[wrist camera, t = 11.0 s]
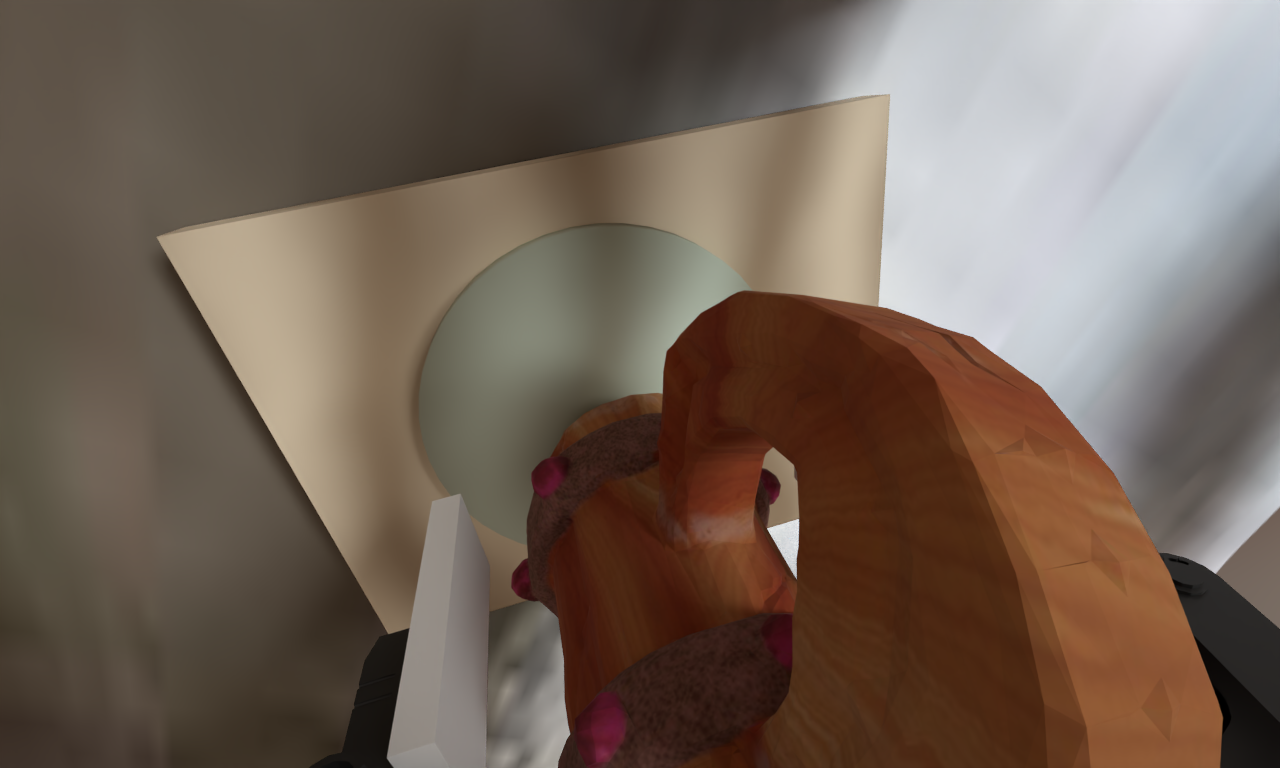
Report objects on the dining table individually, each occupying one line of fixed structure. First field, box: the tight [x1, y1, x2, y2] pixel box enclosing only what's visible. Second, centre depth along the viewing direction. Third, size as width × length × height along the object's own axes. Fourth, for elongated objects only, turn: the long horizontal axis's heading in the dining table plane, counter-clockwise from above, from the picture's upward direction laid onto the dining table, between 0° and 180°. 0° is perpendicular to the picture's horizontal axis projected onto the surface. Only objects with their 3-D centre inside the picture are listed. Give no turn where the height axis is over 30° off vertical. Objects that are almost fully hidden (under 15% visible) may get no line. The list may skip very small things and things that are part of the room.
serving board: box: [157, 94, 890, 634], centre depth 20 cm, size 22×17×2 cm
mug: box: [511, 290, 1223, 768], centre depth 13 cm, size 15×8×15 cm, turn 168°
